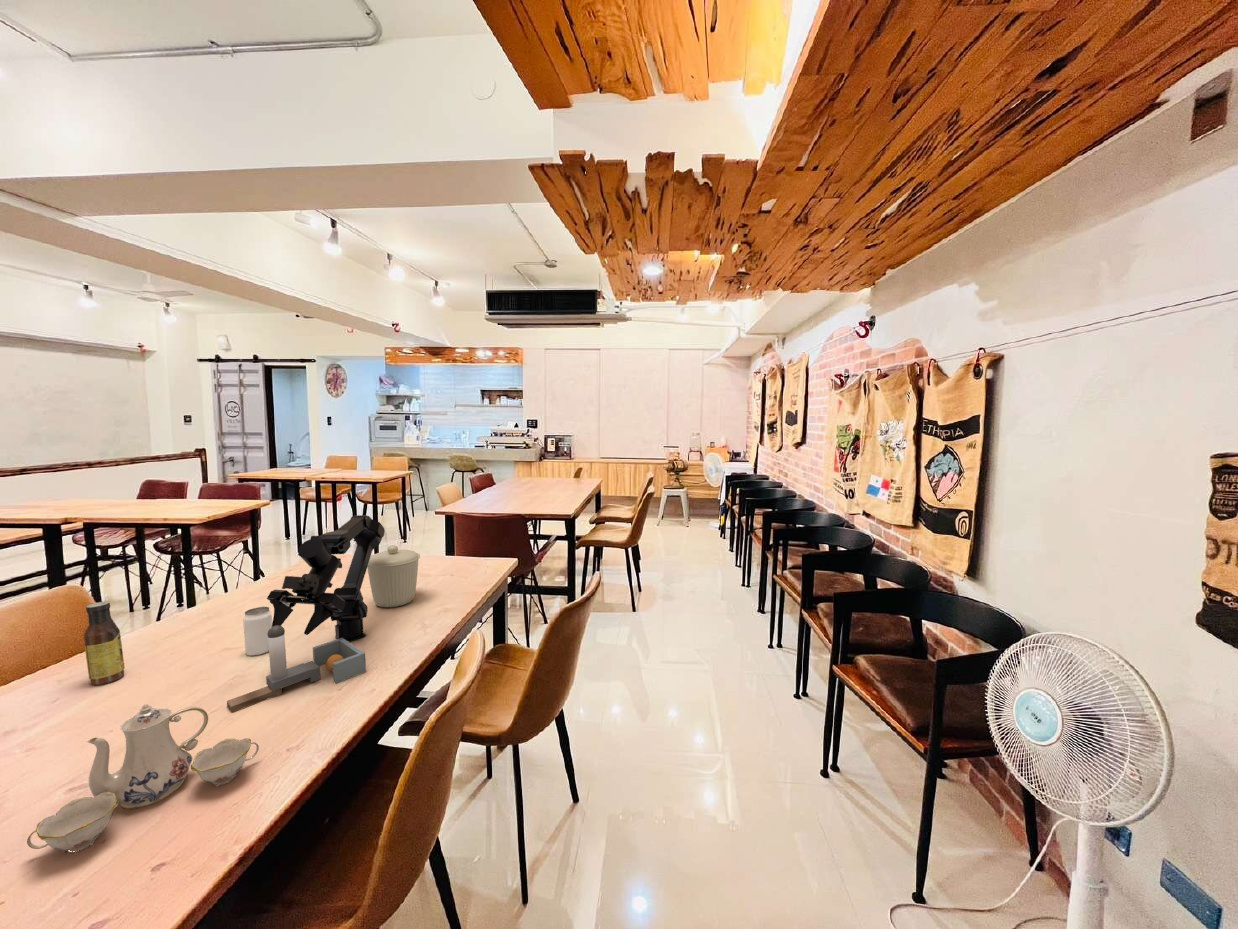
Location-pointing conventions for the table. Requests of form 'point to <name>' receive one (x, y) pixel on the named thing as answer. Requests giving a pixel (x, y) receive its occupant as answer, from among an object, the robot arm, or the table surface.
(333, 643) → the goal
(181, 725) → the table surface
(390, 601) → the canister
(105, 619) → the sauce bottle
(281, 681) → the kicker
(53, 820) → the chinaware
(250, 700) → the rail
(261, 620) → the can
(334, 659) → the ball
